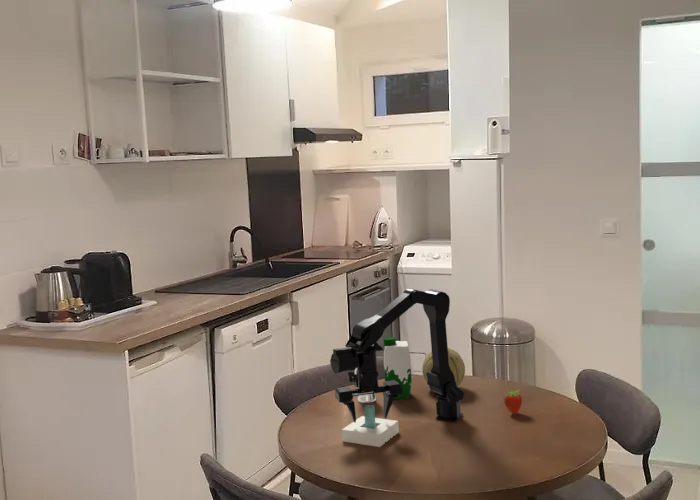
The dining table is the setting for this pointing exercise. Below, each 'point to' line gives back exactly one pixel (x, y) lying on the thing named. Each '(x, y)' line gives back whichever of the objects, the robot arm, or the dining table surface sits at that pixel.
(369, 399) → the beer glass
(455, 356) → the cantaloupe
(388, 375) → the milk carton
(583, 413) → the dining table surface
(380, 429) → the socket block
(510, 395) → the fruit
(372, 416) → the peg
